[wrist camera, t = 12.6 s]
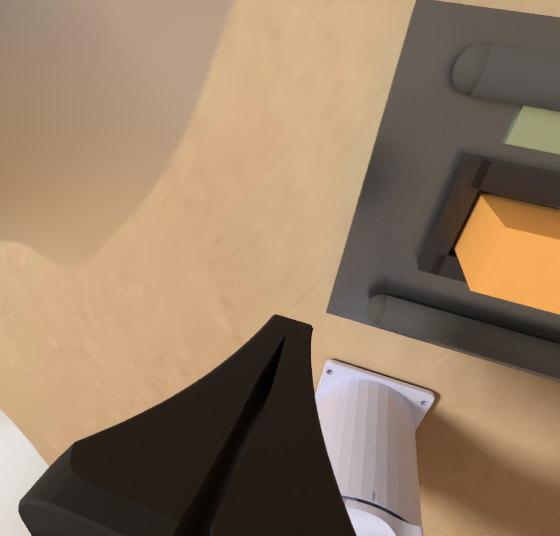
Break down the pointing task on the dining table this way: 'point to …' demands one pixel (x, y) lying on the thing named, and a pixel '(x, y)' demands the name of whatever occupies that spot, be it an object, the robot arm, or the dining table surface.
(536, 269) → the orange rectangular box
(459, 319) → the grey rails and frame
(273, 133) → the dining table surface
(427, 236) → the plate
